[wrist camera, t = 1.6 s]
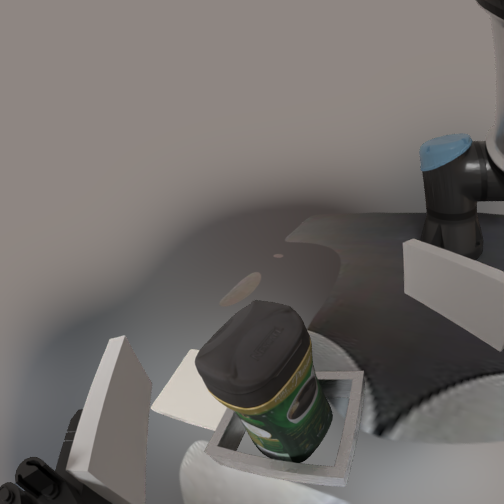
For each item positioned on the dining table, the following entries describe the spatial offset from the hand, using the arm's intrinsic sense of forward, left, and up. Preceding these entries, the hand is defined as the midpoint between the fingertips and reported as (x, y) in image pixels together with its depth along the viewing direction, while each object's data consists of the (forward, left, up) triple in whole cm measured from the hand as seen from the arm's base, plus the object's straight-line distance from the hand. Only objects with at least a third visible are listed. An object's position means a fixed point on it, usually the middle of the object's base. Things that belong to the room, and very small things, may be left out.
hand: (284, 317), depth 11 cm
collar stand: (-5, -6, -24) cm, 26 cm away
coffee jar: (-5, -6, -24) cm, 26 cm away
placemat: (-10, -22, -24) cm, 35 cm away
